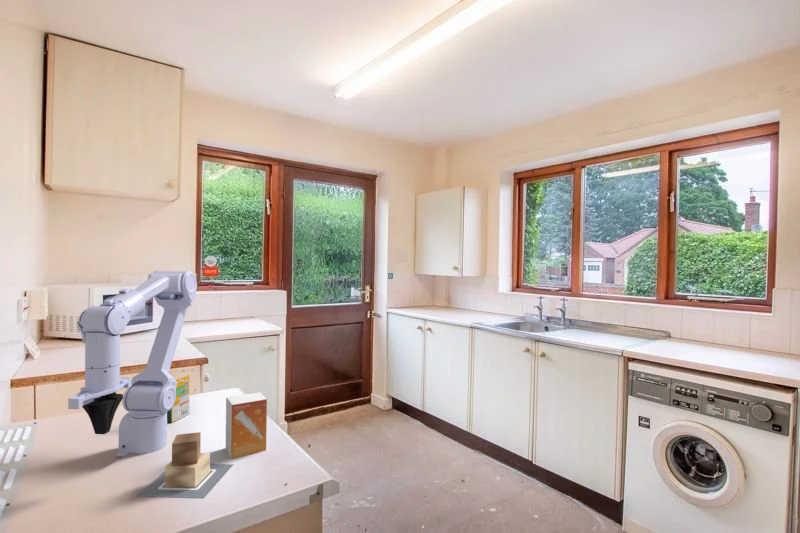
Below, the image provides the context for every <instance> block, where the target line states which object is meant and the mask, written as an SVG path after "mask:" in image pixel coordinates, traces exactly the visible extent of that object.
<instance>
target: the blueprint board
mask: <svg viewBox="0 0 800 533" xmlns="http://www.w3.org/2000/svg"><path fill="white" fill-rule="evenodd" d="M233 466H234V464H232V463H231V464H229V463H225V464H224V463H223V464H222V463H210V473H209V474H208V475H207V476H206V477H205V478H204V479H203V480H202V481H201V482H200V483H199V484H198V485H197V486H196V487H195V488H191V487H165V471H164V472H162V474H160V475H159V476H158V477H157V478H156V479H155V480H153V481H152V482H151V483H150V484H149V485H147V486H146V487H145V488H144V489H143V490H141V491H140V492H139V493H138V494H137V495H136V496H135V497H137V498H139V497H141V498H168V499H169V498H170V499H171V498H175V499H177V498H178V499H205V498H206V497H207V495H209V493H210V492H211V491H212V490H213V489H214V488H215V486H216V485H217V484H218V483H219V482H220V480H222V478H223V477H224V476H225V475H226V474H227V472H229V471H230V469H231V468H232V467H233Z"/></svg>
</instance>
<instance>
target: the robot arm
mask: <svg viewBox="0 0 800 533" xmlns="http://www.w3.org/2000/svg"><path fill="white" fill-rule="evenodd" d="M197 288H198V283H197V278H196V275H195V274H194V272H192V271H191V270H186V271H181V270H180V271H179V270H176V271H175V270H174V271H173V270H172V271H170V270H167V271H166V270H165V271H164V270H154V271H153V272H151V273H149V274H148V275H147V280H145V281H144V282H142V283H141V284H140V285H139V286H138V287H136V288H134V289H130V288H121V289H120V290H118V294H116V295H114V296H113V297H111V298H109V299H106V300H103V302H102V303H101V304H99V305H95V306H94V305H91V306H88V307H86V309H84V310H82V312H81V313H80V315H79V317H78V321H76V324H77V325H76V326H77V329H78V331H79V333H80V334H81V341H82V342H83V344H84V386H82V387H80V392H78V393H77V394H76V395H74V396H71V397H70V398H67V400H68V401H67V402H68V405H67V409H68V410H80V409H82V408H83V410H84V411H85V412H86V414H87V416H88V417H89V420H90V422H91V425H92V429H93V432H94V434H95V435H106V434H108V433H110V431H111V427H112V424H113V421H114V417H115V414H116V411H117V410H118V407H119V405H120V404H121V402H122V406H123V408H124V410H125V411H126V412H127V413H126V414H124V415H123V416H122V418H121V420H120V421H119V422H120V423H119V425H118V452H117V453H116V454H115V456H116V457H124V456H126V455H127V454H128V453H129V454H130V453H131V454H132V453H133V454H136V455H144V454H145V455H146V454H151V453H155V452H159V451H160V450H162V449H164V448H165V447H167V446H168V423H167V411H169V410H170V409H171V407H172V406H173V405H174V402H175V399H176V386H177V381H176V380H177V379H175V378H174V376H173V375H172V374H170V370H171V366H172V362H173V360H174V357H175V352H176V349H177V346H178V342H179V340H180V336H181V333H182V329H183V326H184V323H185V319H186V315H187V312H188V308H189V307H190V306H193V302H194V298H195V296H196V292H197ZM153 298H154V300H155V302H156V304H157V305H158V306H160V307H162V308H163V314H162V317H161V320H160V323H159V325H158V328H157V331H156V335H155V338H154V341H153V345H152V347H151V349H150V352H149V357H148V358H147V363H146V365H145V369H144V370H142V371H141V372H139V373H138V374H136V375H135V376H133V377H120V376H121V374H120V373H121V363H120V362H121V333H124V331H125V330H126V328H127V326H128V324H129V322H130V321H131V319H132V318H134V317H135V316H136V315H138V314H139V313H141V311H143V310H144V309H145V307H146V306H145V305H146V302H148V301H150V300H151V299H153ZM123 389H126V390H125V391H124V393H117V392H119V391H121V390H123Z"/></svg>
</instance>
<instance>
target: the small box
mask: <svg viewBox="0 0 800 533" xmlns="http://www.w3.org/2000/svg"><path fill="white" fill-rule="evenodd" d="M267 413H268V400H267V397H266V396H265V395H263V394H262V392H260V391H258V392H253V393H246V394H245V393H244V394H240V395H234V396H227V397H226V398H225V450H226V451H227V454H228V456H229V457H230V459H235V458H236V459H237V458H240V457H243V456H247V455H251V454H257V453H260V452H263V451H264V452H265V451H267V429H268V428H267V427H268V426H267V423H268V421H267V420H268V418H267V416H268V415H267Z"/></svg>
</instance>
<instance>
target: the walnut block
mask: <svg viewBox="0 0 800 533" xmlns="http://www.w3.org/2000/svg"><path fill="white" fill-rule="evenodd" d="M200 453H201V431H199V432H198V431H197V432H190V433H180V434H176V435H175V437H174V439H173V441H172V444H171V461H172V467H173V466H181V465H189V464H196V463H197V462H198V459H199V456H200Z"/></svg>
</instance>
